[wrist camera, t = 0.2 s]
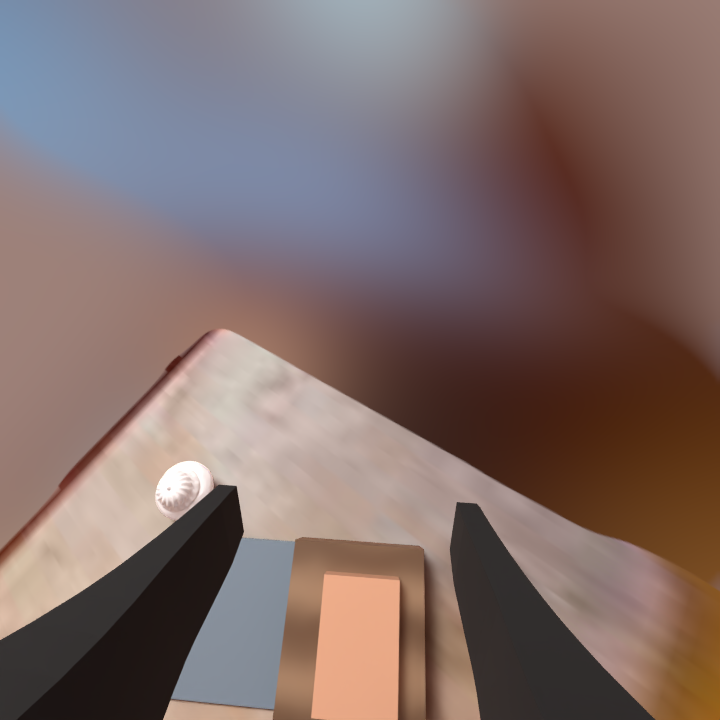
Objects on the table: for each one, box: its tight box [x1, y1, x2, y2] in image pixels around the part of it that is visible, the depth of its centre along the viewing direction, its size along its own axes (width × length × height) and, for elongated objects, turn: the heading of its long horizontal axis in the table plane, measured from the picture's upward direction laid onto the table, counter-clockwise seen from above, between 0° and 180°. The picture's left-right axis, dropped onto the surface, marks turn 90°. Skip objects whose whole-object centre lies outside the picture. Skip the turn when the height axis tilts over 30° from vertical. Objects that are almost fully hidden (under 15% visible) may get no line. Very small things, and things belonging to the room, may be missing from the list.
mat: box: [171, 538, 295, 709], centre depth 36 cm, size 14×13×1 cm
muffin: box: [155, 461, 214, 520], centre depth 38 cm, size 6×6×7 cm
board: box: [273, 537, 426, 720], centre depth 33 cm, size 15×13×4 cm
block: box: [311, 571, 400, 720], centre depth 30 cm, size 10×7×2 cm
